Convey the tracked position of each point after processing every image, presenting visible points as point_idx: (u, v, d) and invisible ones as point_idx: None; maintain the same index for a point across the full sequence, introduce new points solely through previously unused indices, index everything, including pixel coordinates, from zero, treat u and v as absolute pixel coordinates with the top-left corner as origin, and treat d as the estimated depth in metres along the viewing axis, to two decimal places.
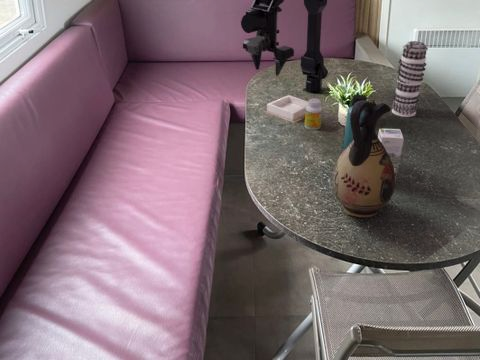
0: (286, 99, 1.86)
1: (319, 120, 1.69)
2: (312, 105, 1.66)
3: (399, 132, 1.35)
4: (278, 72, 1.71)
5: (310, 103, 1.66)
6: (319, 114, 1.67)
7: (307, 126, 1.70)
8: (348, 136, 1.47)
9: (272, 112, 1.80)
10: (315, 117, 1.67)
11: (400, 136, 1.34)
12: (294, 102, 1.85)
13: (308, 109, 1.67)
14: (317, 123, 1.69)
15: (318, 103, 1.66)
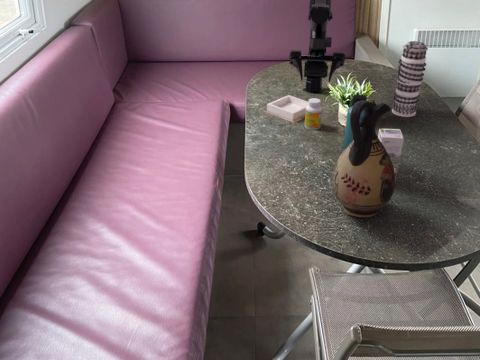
0: (286, 99, 1.86)
1: (319, 120, 1.69)
2: (312, 105, 1.66)
3: (399, 132, 1.35)
4: None
5: (310, 103, 1.66)
6: (319, 114, 1.67)
7: (307, 126, 1.70)
8: (348, 136, 1.47)
9: (272, 112, 1.80)
10: (315, 117, 1.67)
11: (400, 136, 1.34)
12: (294, 102, 1.85)
13: (308, 109, 1.67)
14: (317, 123, 1.69)
15: (318, 103, 1.66)
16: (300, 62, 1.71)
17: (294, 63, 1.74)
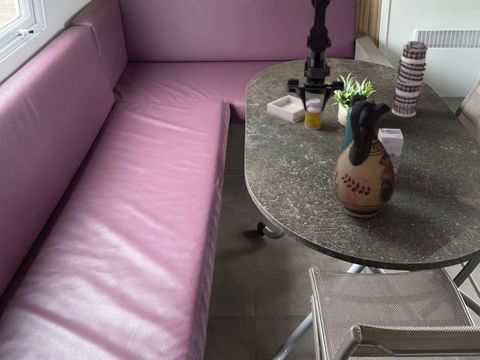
0: (286, 99, 1.86)
1: (319, 120, 1.69)
2: (312, 105, 1.66)
3: (399, 132, 1.35)
4: (324, 107, 1.67)
5: (310, 103, 1.66)
6: (319, 114, 1.67)
7: (307, 126, 1.70)
8: (348, 136, 1.47)
9: (272, 112, 1.80)
10: (315, 117, 1.67)
11: (400, 136, 1.34)
12: (294, 102, 1.85)
13: (308, 109, 1.67)
14: (317, 123, 1.68)
15: (318, 103, 1.66)
16: (303, 91, 1.67)
17: (297, 92, 1.70)
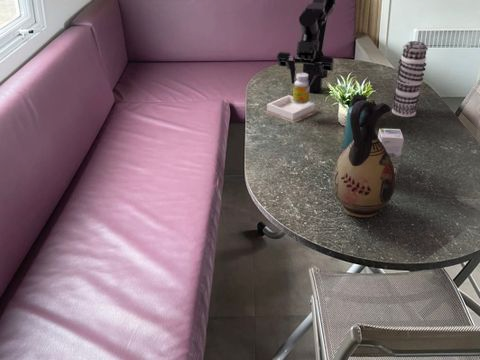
0: (286, 99, 1.86)
1: (306, 94, 1.70)
2: (299, 79, 1.68)
3: (399, 132, 1.35)
4: (311, 82, 1.68)
5: (297, 77, 1.68)
6: (306, 88, 1.69)
7: (294, 100, 1.72)
8: (348, 136, 1.47)
9: (272, 112, 1.80)
10: (301, 91, 1.69)
11: (400, 136, 1.34)
12: None
13: (295, 83, 1.69)
14: (304, 97, 1.70)
15: (305, 77, 1.67)
16: (292, 65, 1.69)
17: (287, 65, 1.72)
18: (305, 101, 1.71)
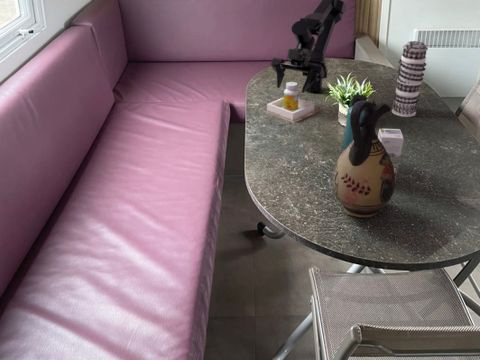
0: None
1: (294, 103, 1.78)
2: (288, 88, 1.76)
3: (399, 132, 1.35)
4: (305, 89, 1.74)
5: (286, 85, 1.76)
6: (294, 97, 1.76)
7: (284, 107, 1.80)
8: (348, 136, 1.47)
9: (272, 112, 1.80)
10: (289, 100, 1.77)
11: (400, 136, 1.34)
12: None
13: (284, 91, 1.77)
14: (292, 106, 1.78)
15: (293, 86, 1.75)
16: (279, 70, 1.77)
17: (276, 70, 1.80)
18: (293, 109, 1.79)
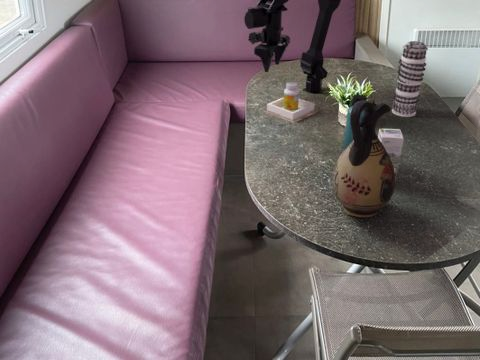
0: None
1: (294, 103, 1.78)
2: (288, 87, 1.76)
3: (399, 132, 1.35)
4: (265, 68, 1.80)
5: (286, 85, 1.76)
6: (294, 97, 1.76)
7: (284, 107, 1.80)
8: (348, 136, 1.47)
9: (272, 112, 1.80)
10: (290, 100, 1.77)
11: (400, 136, 1.34)
12: None
13: (284, 91, 1.77)
14: (292, 106, 1.78)
15: (293, 86, 1.75)
16: None
17: None
18: (293, 109, 1.79)
